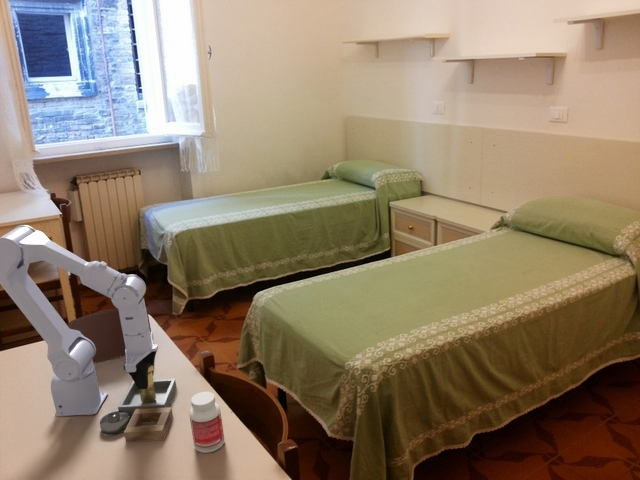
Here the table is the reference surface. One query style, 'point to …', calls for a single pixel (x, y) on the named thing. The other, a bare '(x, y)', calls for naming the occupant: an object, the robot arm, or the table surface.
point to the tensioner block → (148, 432)
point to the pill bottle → (206, 422)
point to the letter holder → (103, 333)
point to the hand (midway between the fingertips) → (145, 382)
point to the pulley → (114, 422)
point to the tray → (163, 399)
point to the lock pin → (148, 393)
